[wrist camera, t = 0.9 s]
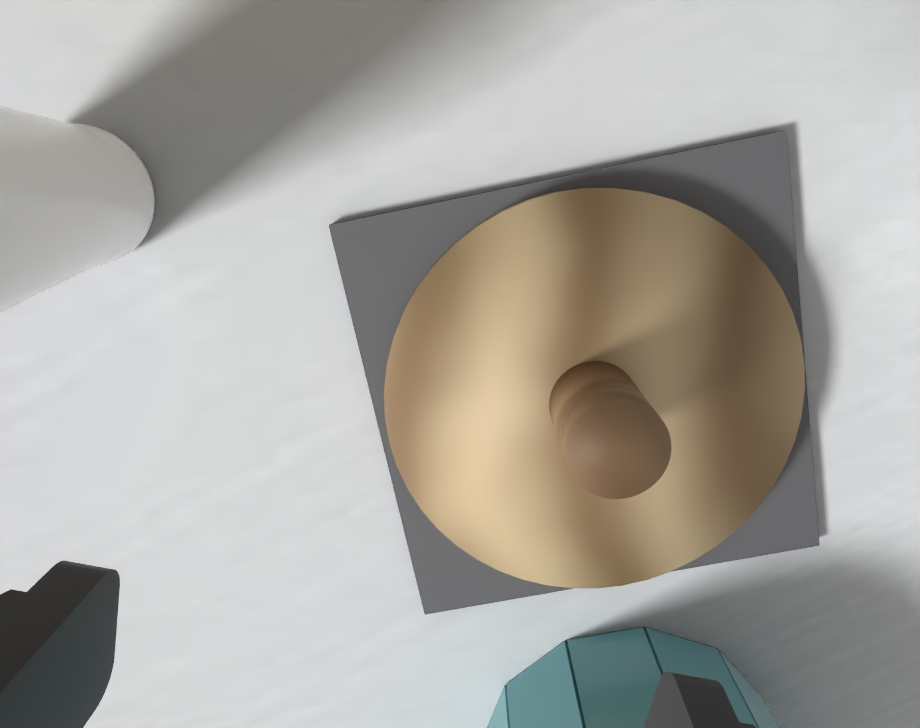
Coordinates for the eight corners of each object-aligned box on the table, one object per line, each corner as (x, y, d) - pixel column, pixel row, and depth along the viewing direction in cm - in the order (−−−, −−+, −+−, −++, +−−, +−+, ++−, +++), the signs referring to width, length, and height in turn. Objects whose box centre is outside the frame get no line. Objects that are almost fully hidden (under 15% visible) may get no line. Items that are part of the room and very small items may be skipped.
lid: (773, 146, 28) (857, 143, 22) (807, 537, 33) (883, 621, 27) (344, 235, 29) (313, 254, 23) (433, 602, 34) (426, 698, 28)
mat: (780, 130, 29) (786, 130, 28) (814, 539, 33) (819, 545, 33) (330, 224, 30) (328, 225, 29) (425, 608, 34) (424, 614, 34)
